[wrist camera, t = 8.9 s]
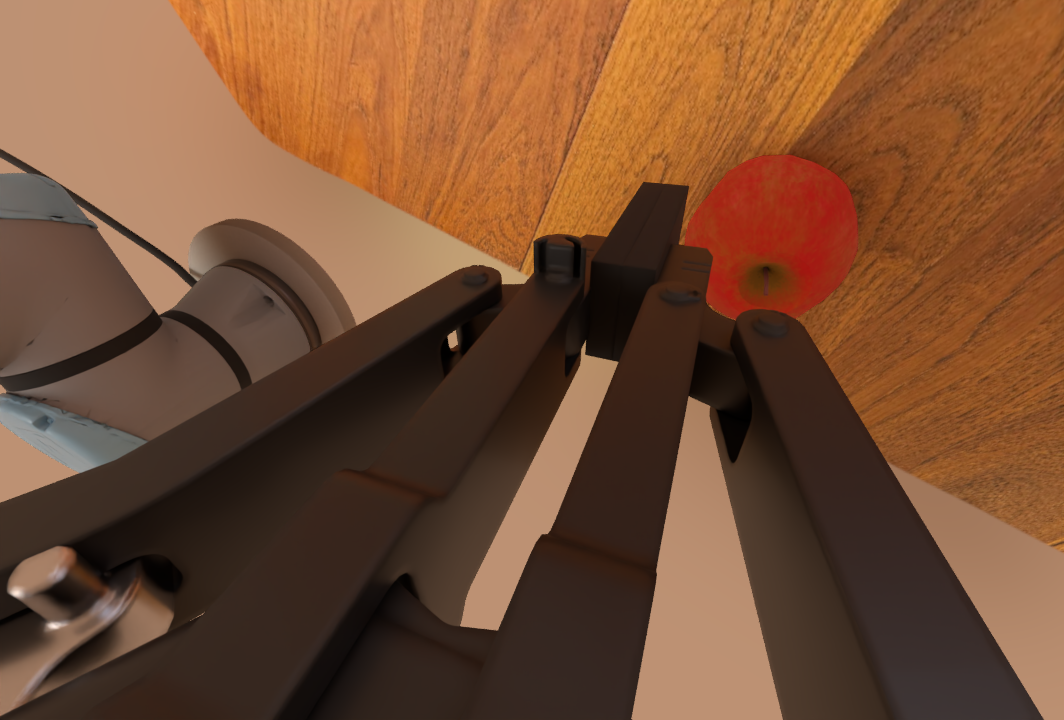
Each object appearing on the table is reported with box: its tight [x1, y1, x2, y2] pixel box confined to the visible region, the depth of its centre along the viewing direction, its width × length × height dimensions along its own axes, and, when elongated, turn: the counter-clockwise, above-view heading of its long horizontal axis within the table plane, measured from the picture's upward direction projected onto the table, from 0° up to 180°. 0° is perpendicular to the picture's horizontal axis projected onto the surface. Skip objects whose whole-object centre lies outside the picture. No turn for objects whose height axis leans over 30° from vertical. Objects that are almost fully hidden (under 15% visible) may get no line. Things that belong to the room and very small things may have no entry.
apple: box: [685, 155, 858, 319], centre depth 24 cm, size 8×8×11 cm
